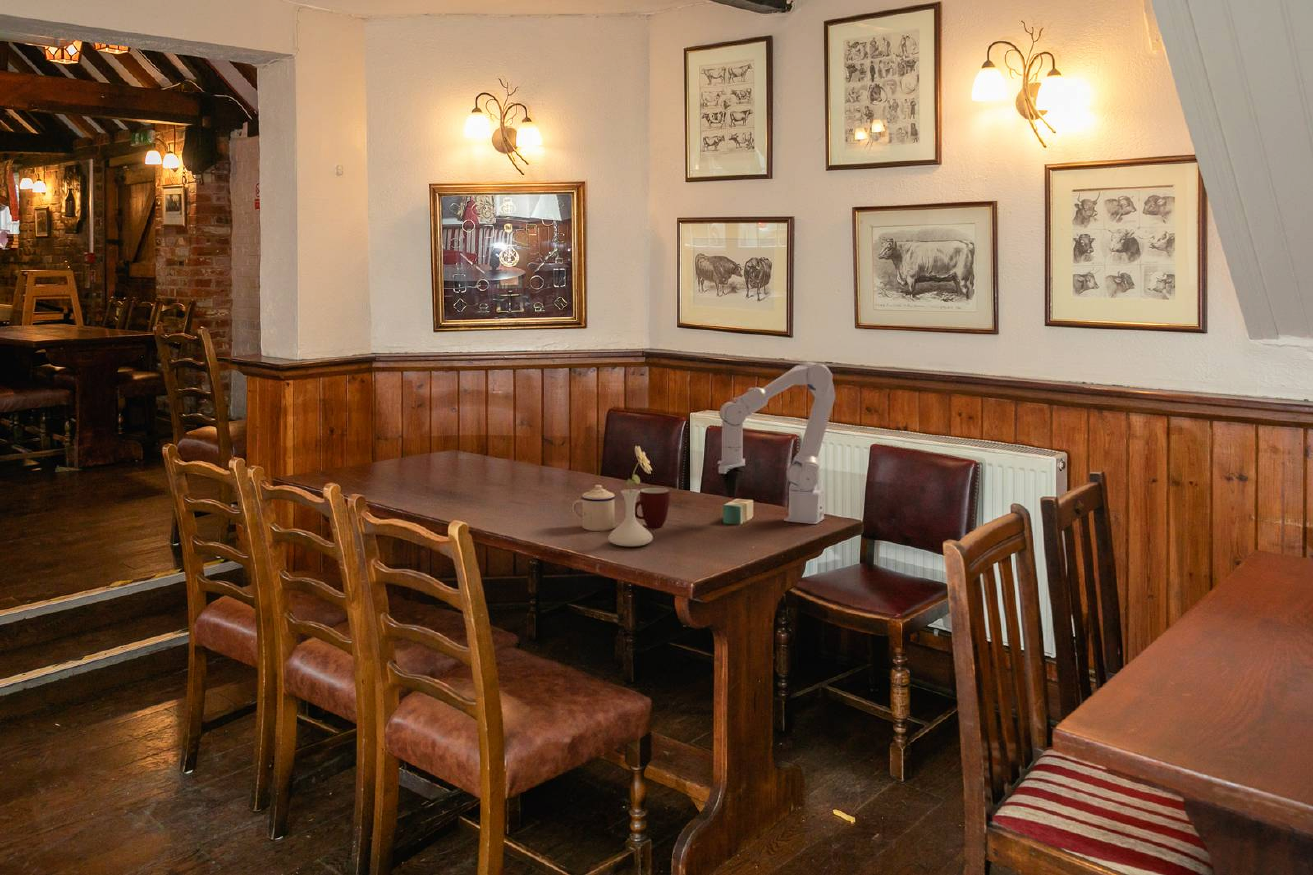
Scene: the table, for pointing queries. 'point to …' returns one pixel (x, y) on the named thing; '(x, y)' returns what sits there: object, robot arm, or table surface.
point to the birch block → (738, 511)
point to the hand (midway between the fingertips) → (731, 495)
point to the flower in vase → (632, 512)
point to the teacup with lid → (597, 509)
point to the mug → (653, 506)
